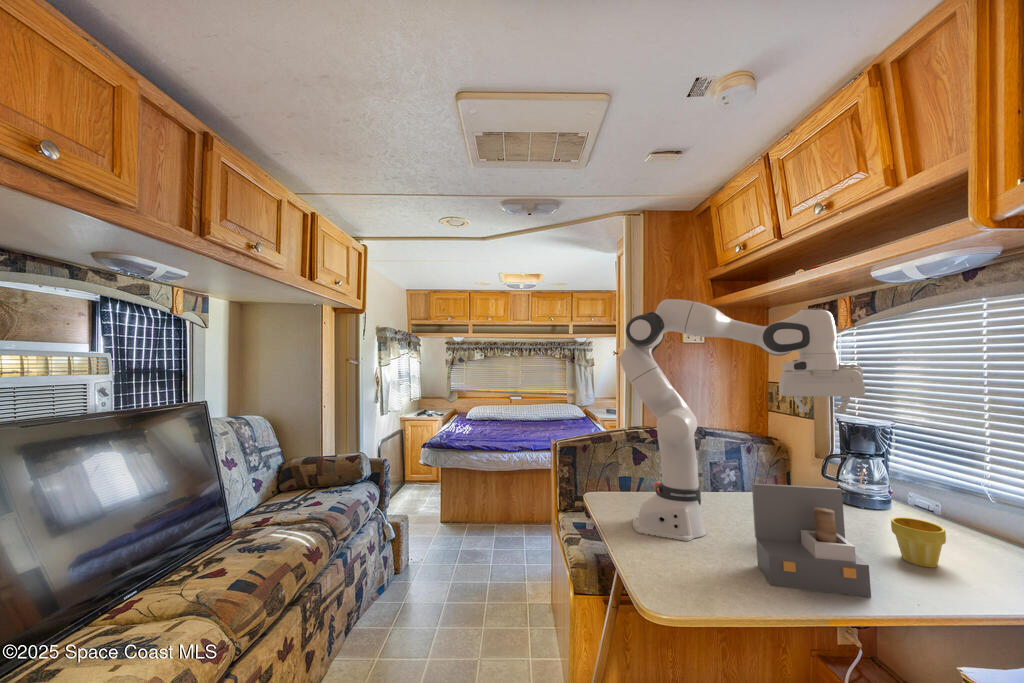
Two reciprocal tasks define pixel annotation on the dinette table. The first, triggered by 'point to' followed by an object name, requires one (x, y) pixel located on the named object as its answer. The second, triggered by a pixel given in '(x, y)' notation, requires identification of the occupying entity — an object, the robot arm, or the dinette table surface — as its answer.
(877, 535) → the dinette table surface
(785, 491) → the case
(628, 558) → the dinette table surface
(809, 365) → the robot arm
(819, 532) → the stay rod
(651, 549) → the dinette table surface
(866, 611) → the dinette table surface
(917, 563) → the plant pot
